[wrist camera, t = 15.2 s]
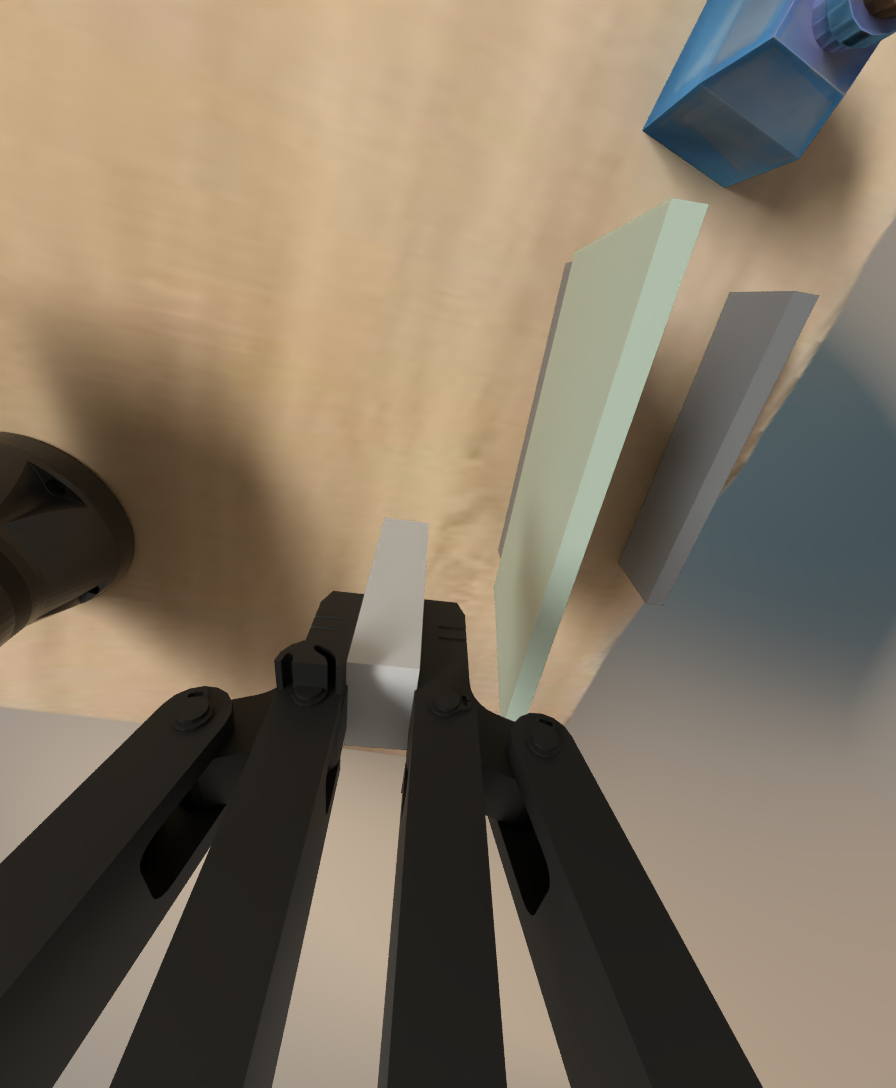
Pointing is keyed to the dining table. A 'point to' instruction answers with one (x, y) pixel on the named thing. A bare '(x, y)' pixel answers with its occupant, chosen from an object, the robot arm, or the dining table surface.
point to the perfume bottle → (763, 80)
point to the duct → (700, 430)
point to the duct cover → (583, 428)
